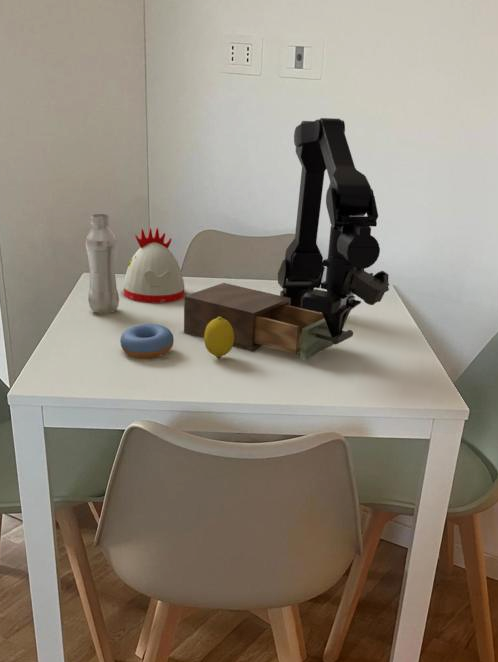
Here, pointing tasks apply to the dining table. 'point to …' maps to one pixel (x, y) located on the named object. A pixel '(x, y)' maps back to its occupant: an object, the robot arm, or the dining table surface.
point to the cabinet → (229, 311)
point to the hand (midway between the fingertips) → (335, 338)
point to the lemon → (219, 337)
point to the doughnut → (146, 340)
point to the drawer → (295, 331)
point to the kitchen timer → (153, 272)
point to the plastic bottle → (102, 265)
